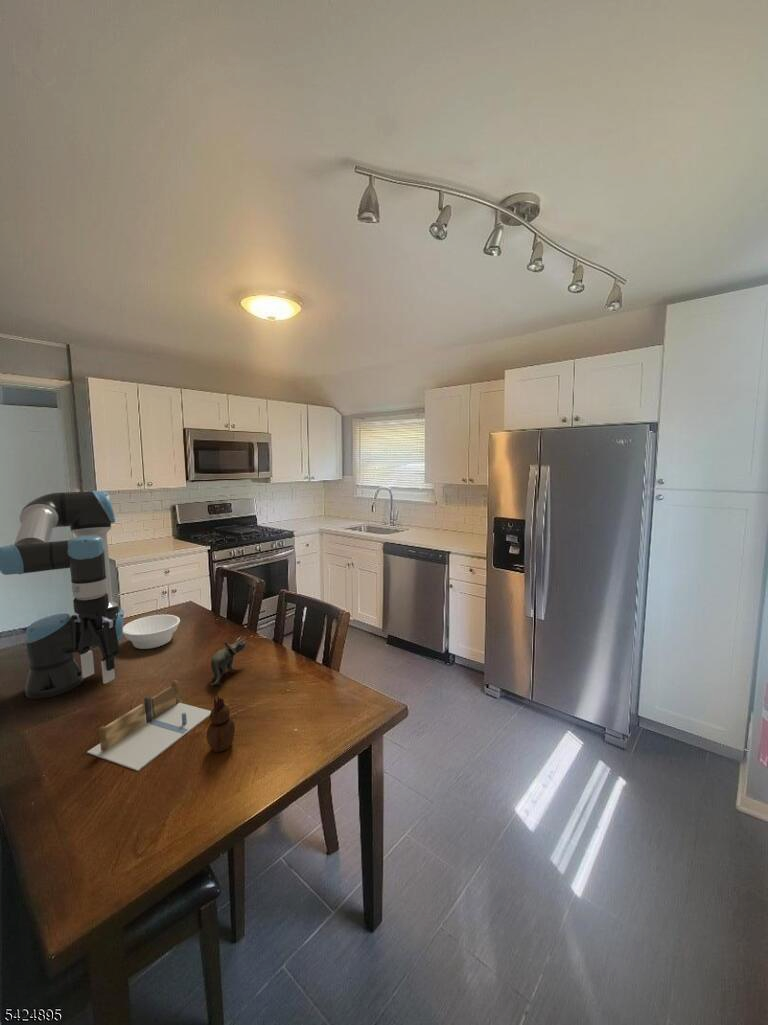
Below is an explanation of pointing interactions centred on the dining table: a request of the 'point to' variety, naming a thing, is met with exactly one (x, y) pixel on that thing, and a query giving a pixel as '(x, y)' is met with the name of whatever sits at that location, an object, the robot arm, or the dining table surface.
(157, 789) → the dining table surface
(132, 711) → the fence panel
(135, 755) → the card
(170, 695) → the fence fixed
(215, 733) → the wooden figurine
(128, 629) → the bowl
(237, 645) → the dinosaur figurine
